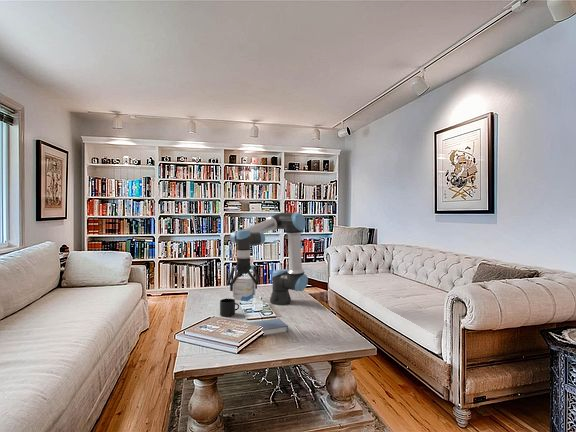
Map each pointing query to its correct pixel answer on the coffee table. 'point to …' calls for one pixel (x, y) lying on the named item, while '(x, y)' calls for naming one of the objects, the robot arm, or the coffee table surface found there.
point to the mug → (227, 307)
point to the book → (272, 326)
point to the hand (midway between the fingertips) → (243, 295)
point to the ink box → (243, 289)
